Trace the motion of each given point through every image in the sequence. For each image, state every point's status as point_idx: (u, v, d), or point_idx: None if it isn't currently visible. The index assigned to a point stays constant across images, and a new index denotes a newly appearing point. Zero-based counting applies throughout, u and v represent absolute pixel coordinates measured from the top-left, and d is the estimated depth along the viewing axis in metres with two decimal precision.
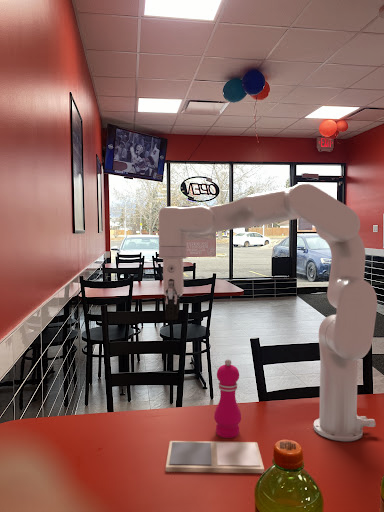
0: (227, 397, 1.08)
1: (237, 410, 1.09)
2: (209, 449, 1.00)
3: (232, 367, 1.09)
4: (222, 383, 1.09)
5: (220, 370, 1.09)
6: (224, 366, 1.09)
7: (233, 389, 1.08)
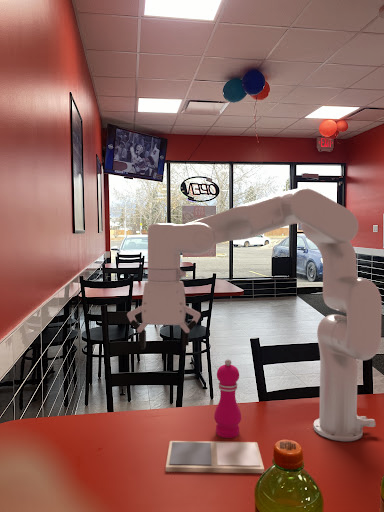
0: (227, 397, 1.08)
1: (237, 410, 1.09)
2: (209, 449, 1.00)
3: (232, 367, 1.09)
4: (222, 383, 1.09)
5: (220, 370, 1.09)
6: (224, 366, 1.09)
7: (233, 389, 1.08)
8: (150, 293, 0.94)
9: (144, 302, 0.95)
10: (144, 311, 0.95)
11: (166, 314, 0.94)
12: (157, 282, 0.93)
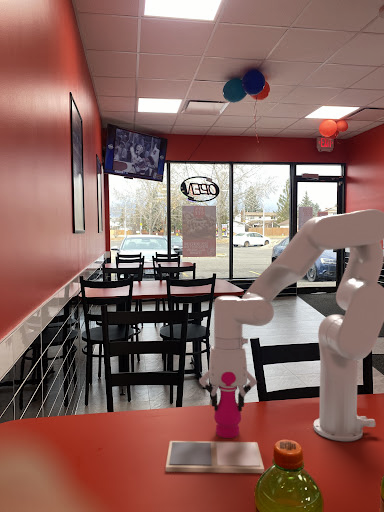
0: (227, 397, 1.08)
1: (237, 410, 1.09)
2: (209, 449, 1.00)
3: None
4: None
5: None
6: None
7: (233, 389, 1.08)
8: (217, 359, 1.08)
9: (212, 366, 1.08)
10: (212, 374, 1.08)
11: None
12: (224, 350, 1.06)
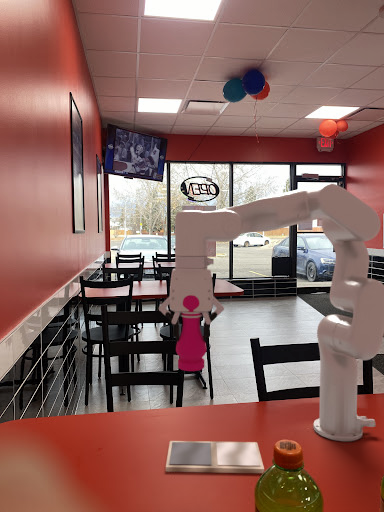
0: (190, 325, 0.95)
1: (201, 340, 0.95)
2: (209, 449, 1.00)
3: None
4: None
5: None
6: None
7: (196, 315, 0.95)
8: (178, 281, 0.94)
9: (172, 289, 0.94)
10: (172, 299, 0.95)
11: None
12: (186, 269, 0.93)
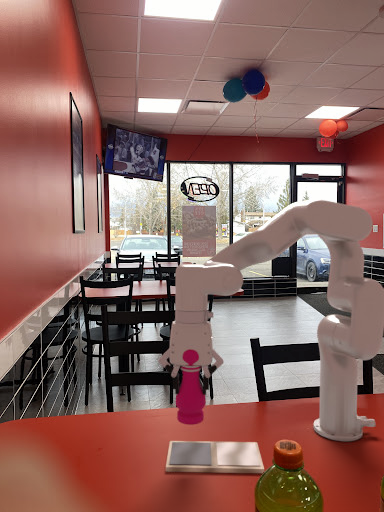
0: (189, 378, 0.95)
1: (201, 393, 0.96)
2: (209, 449, 1.00)
3: None
4: None
5: None
6: None
7: (196, 369, 0.95)
8: (178, 335, 0.95)
9: (172, 343, 0.95)
10: (172, 352, 0.95)
11: None
12: (185, 324, 0.93)
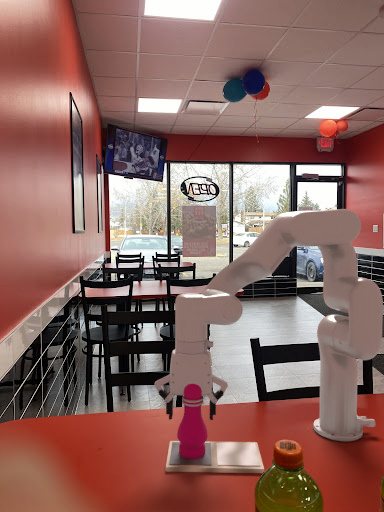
0: (191, 413, 0.96)
1: (202, 427, 0.96)
2: (209, 449, 1.00)
3: None
4: (186, 397, 0.96)
5: None
6: None
7: (198, 404, 0.95)
8: (178, 365, 0.95)
9: (172, 373, 0.95)
10: (172, 382, 0.95)
11: None
12: (185, 355, 0.93)
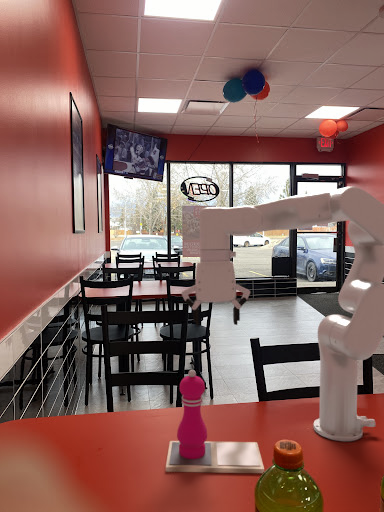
0: (191, 413, 0.96)
1: (202, 427, 0.96)
2: (209, 449, 1.00)
3: (196, 379, 0.96)
4: (185, 397, 0.96)
5: (183, 382, 0.96)
6: (187, 378, 0.97)
7: (197, 404, 0.96)
8: (204, 273, 1.01)
9: (198, 281, 1.02)
10: (198, 289, 1.02)
11: (219, 292, 1.01)
12: (211, 262, 1.00)
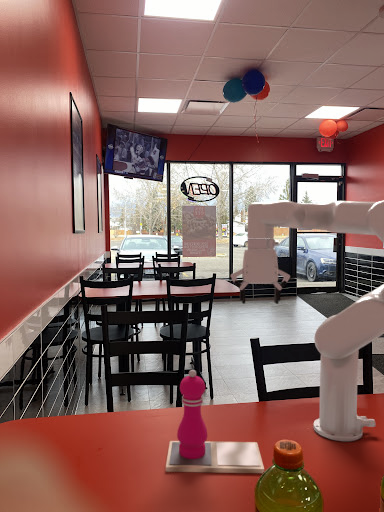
0: (191, 413, 0.96)
1: (202, 427, 0.96)
2: (209, 449, 1.00)
3: (197, 379, 0.96)
4: (185, 397, 0.96)
5: (183, 382, 0.96)
6: (188, 378, 0.97)
7: (197, 404, 0.96)
8: (251, 258, 1.18)
9: (246, 265, 1.19)
10: (246, 272, 1.19)
11: (264, 275, 1.18)
12: (258, 249, 1.17)
